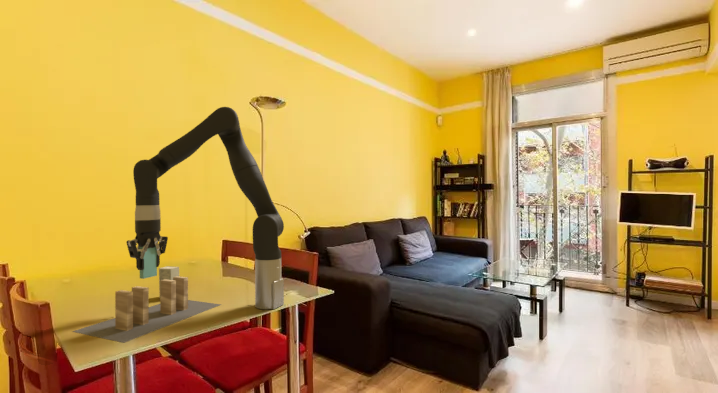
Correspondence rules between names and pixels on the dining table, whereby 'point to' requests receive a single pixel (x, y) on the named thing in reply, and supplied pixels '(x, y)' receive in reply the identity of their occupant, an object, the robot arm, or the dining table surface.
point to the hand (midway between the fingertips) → (148, 268)
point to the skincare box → (168, 273)
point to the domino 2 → (149, 263)
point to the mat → (154, 323)
